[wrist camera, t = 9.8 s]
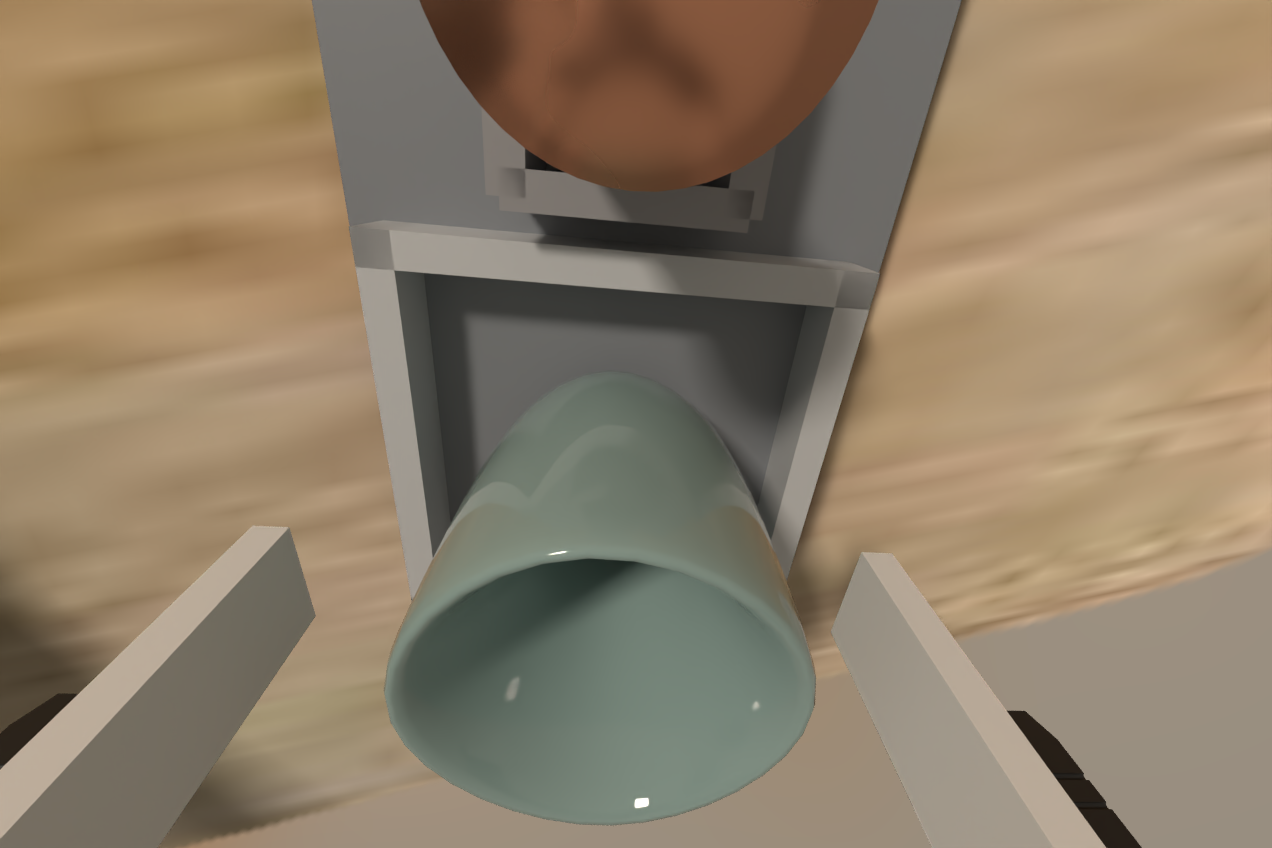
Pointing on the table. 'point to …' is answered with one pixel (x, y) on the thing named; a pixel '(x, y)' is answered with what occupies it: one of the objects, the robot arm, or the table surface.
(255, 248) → the table surface
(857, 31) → the plunger
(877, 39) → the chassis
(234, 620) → the robot arm
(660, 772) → the cup
